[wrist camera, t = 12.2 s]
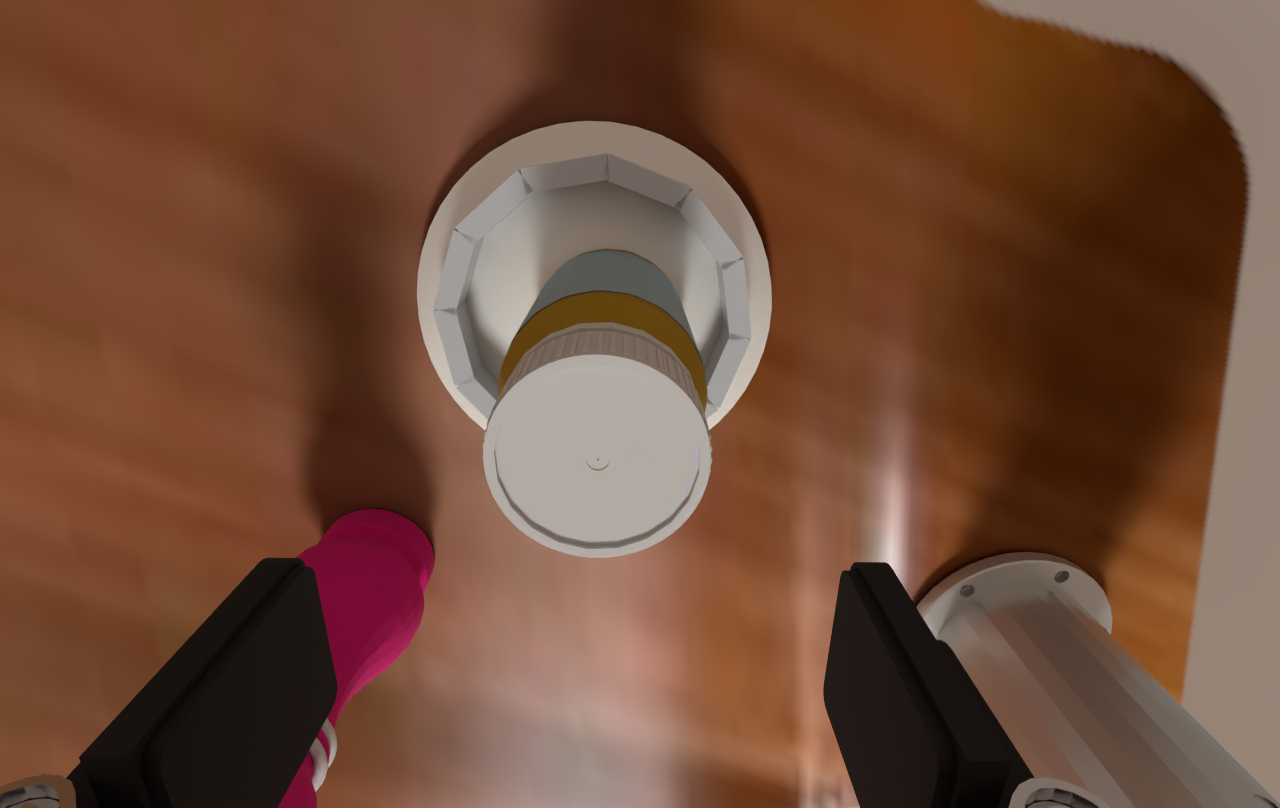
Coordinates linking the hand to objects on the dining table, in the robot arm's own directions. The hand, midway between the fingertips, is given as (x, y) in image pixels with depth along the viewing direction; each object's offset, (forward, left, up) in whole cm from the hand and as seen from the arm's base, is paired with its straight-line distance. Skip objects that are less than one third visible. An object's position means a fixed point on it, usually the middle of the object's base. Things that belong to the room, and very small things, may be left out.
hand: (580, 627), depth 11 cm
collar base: (+1, 0, -22) cm, 22 cm away
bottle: (0, 0, -21) cm, 21 cm away
